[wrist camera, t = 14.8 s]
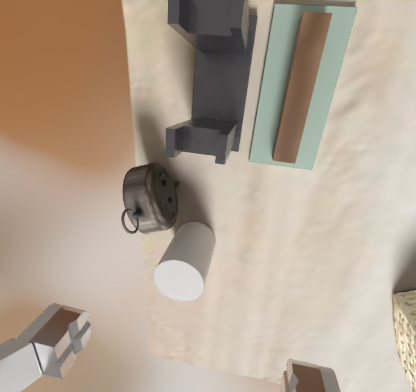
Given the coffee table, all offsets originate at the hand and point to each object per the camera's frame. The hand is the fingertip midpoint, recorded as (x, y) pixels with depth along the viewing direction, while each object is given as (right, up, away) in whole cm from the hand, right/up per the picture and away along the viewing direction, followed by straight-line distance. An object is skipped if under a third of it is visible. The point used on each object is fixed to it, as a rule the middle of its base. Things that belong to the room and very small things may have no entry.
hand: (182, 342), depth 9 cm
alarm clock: (-6, +8, +35) cm, 36 cm away
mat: (+14, +21, +25) cm, 35 cm away
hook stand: (+3, +22, +27) cm, 35 cm away
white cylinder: (-1, -3, +38) cm, 38 cm away
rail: (+14, +20, +24) cm, 35 cm away
